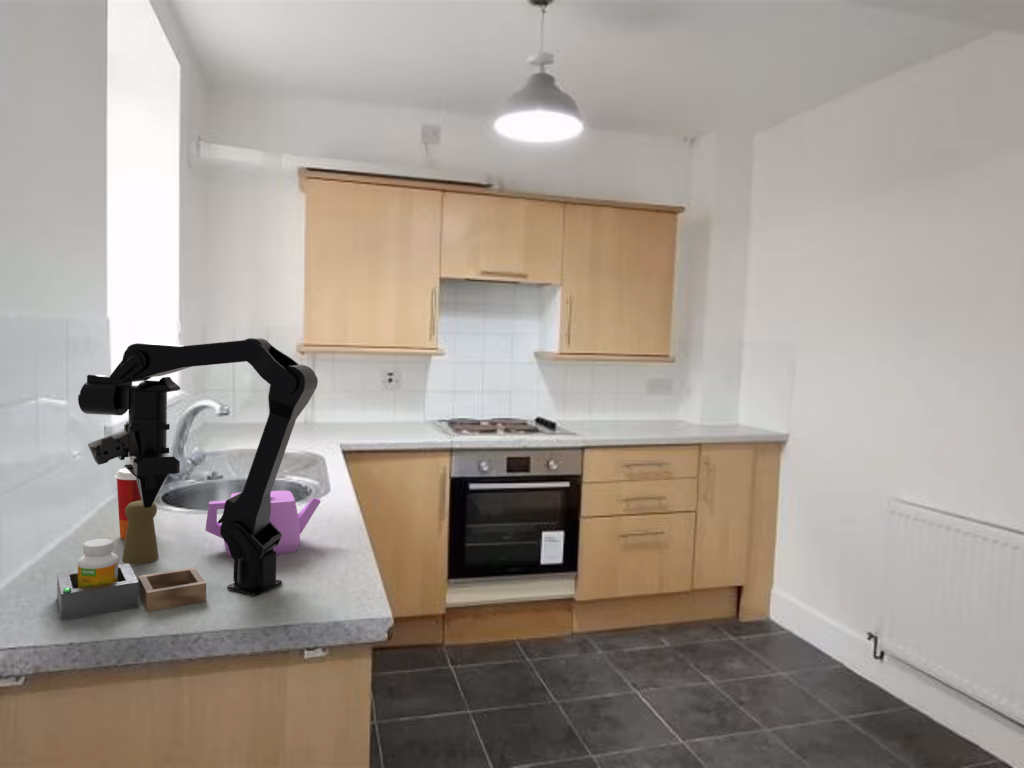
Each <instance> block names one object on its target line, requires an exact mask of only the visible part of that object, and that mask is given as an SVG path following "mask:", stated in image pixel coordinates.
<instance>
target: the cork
mask: <svg viewBox="0 0 1024 768" xmlns="http://www.w3.org/2000/svg"><path fill="white" fill-rule="evenodd" d="M157 512H158V508H157V504H156V503H155V501H154V502H153V504H152V506H151V507H148V508H144V507H143V504H142V500H141V501H135V502H131V503H129V504H128V505H127V507H126V509H125V514H126V517H127V519H128V520H129V521H128V527H127V533H126V539H124V545H123V551H122V552H123V553H122V559H121V561H122V564H126V563H129V564H130V565H143V564H144V565H145V564H149V563H151V562H153V563H154V562H155V561H157V560H158V559H159V551H158V542H157V533H156V528H155V519H154V518H155V517H156V515H157Z"/></svg>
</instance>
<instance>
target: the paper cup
mask: <svg viewBox="0 0 1024 768" xmlns="http://www.w3.org/2000/svg"><path fill="white" fill-rule="evenodd" d="M113 478H115V479H116V485H117V488H116V489H117V504H118V505H117V506H118V507H117V508H118V522H119V524H118V525H119V536H120V539H122V540H125V539H126V533H127V527H128V521H129V520H128V519H127V517H126V514H125V509H126V507H127V505H128V504H129V503H131V502H135V501H141V496H140V492H139V488H138V484H137V480H136V477H135V476H134V475H133V474H132V473H131V472H130V471H129V470H128V469H127V468H126V467H124V468H120V469H118V471H117V472H116V475H114V477H113Z"/></svg>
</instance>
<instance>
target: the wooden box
mask: <svg viewBox="0 0 1024 768" xmlns="http://www.w3.org/2000/svg"><path fill="white" fill-rule="evenodd" d="M137 578H138V579H137V580H138V598H139V599H140V601H141V604H143V607H144V609H145V611H146V613H148V612H155V611H159V610H160V611H161V610H164V609H166V610H167V609H170V608H176V607H181V606H187V605H188V606H189V605H192V604H196V603H203V602H207V582H206V581H205V579H204V578H203V576H202V575H201V574H200V573H199V571H198V570H197V568H196V567H187V568H180V569H175V570H168V571H161V572H156V573H148V574H141V575H138V577H137Z"/></svg>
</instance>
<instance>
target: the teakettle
mask: <svg viewBox="0 0 1024 768" xmlns="http://www.w3.org/2000/svg"><path fill="white" fill-rule="evenodd" d="M241 492H242V491H241ZM241 492H233V493H232V494H230V498H232V497H234V496H236V495H238V494H239V493H241ZM230 498H229V499H230ZM226 500H227V499H225V500H215V501H214V500H213V501H209V502H208V509H207V516H206V523H205V532H208V533H209V534H211V535H214V536H216V537H218V538H220V539H223V537H222V536H221V535H220V527H221V524H222V523H218V519H217V518H218V510H224V506H225V503H226ZM270 500H271V513H270V519H269V521H270V522H271V523H272V524H273V525H274V526H275V527H276V528H277V529H278V531H279V532H280V533H281V534H282V537H281V539H280V542H279V544H278V545H277V546H275V547H274V548H272V549H273V550H274V551H275V552H277V553H276V555H280V554H281V553H282V554H288V553H287V552H290V553H295V552H297V551H296V550H298V548H299V545H300V539H301V538H300V537H301V534H302V532H303V531H304V529H305V528H306V526H307V525H308V523H309V521H310V520H311V518H312V516H313V515H314V513H315V511H316V510H317V508H318V507H319V505H320V503H321V502H322V500H321V499H320V498H313V497H311V498H310V500H309V501H308V502H307V504H306V505H304V507H303V508H302V509H301V510H300V512H298V508H297V505H296V499H295V496H294V494H293V493H292V492H291V491H290V490H271V494H270ZM223 542H224V547H225V551H226V554H227V556H228V557H230V558H232V556H231V553H230V551H229V548H228V545H227V543H226V542H225V541H224V540H223ZM294 551H295V552H294Z"/></svg>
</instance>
